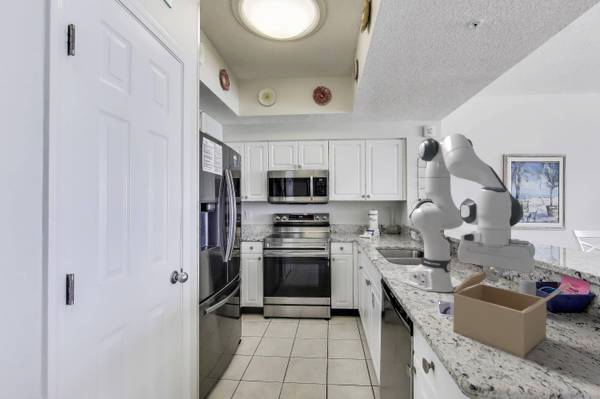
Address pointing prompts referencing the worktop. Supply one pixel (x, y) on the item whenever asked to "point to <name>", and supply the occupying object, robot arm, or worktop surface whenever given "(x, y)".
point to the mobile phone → (446, 308)
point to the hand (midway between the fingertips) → (493, 281)
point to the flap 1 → (473, 280)
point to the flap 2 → (548, 298)
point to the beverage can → (527, 287)
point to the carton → (500, 318)
